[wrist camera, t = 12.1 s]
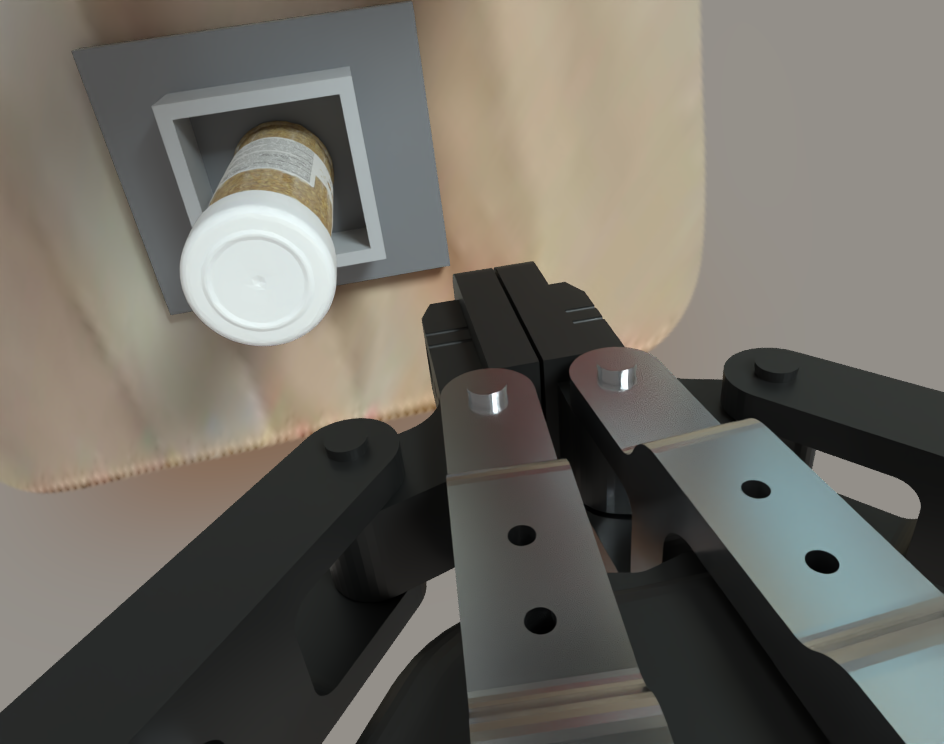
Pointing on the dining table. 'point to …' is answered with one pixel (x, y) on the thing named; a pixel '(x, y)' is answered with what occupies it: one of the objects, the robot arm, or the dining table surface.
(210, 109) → the bottle stand
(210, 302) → the sprinkles bottle
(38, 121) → the dining table surface
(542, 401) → the robot arm
